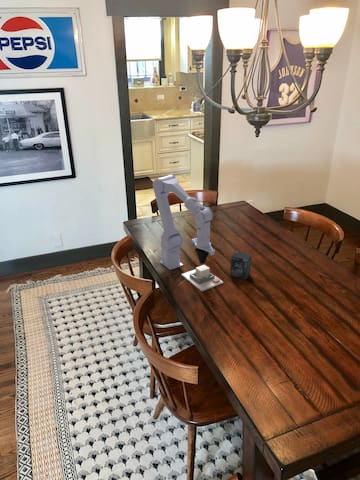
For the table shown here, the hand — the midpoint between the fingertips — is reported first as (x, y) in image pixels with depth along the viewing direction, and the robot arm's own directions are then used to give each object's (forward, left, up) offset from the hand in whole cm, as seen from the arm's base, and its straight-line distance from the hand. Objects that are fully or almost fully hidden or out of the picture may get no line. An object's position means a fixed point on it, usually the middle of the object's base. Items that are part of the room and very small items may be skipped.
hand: (202, 262), depth 166 cm
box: (+7, +17, -9) cm, 20 cm away
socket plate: (0, 0, -9) cm, 9 cm away
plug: (0, 0, -8) cm, 8 cm away
